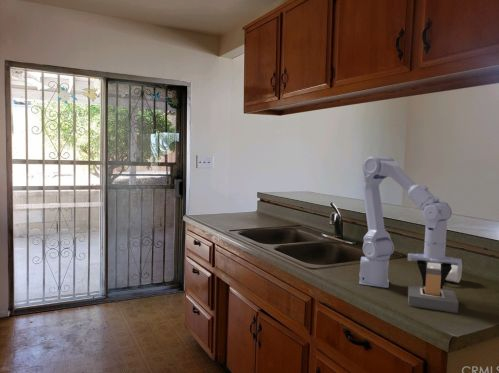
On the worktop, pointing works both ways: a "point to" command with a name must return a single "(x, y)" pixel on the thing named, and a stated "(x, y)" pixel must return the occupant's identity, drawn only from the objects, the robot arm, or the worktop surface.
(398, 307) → the worktop surface
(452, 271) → the mug
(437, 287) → the plug
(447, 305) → the socket block
